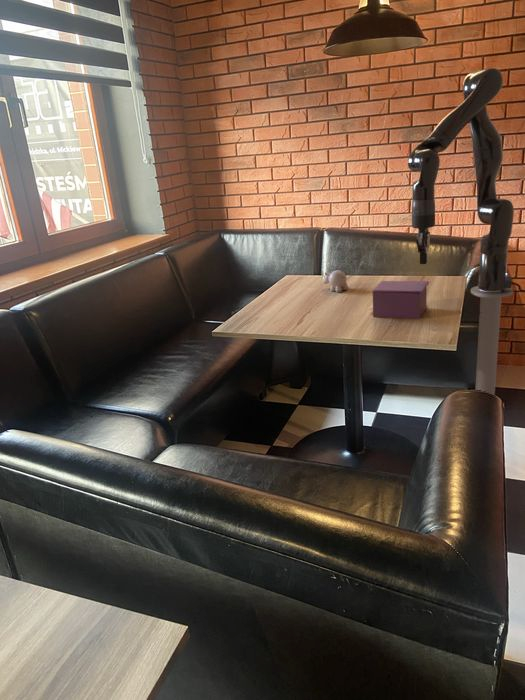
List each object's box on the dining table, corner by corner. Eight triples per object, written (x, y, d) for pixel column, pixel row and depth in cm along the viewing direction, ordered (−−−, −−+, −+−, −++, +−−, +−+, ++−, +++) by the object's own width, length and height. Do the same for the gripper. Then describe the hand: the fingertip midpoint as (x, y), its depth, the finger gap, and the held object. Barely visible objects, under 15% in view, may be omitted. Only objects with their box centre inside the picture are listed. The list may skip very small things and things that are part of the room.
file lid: (429, 282, 185) (429, 281, 185) (422, 292, 174) (422, 290, 174) (382, 282, 192) (382, 281, 192) (372, 291, 182) (372, 290, 182)
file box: (426, 308, 188) (426, 283, 185) (419, 319, 178) (419, 293, 175) (382, 306, 195) (382, 282, 192) (373, 316, 185) (372, 292, 182)
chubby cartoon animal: (330, 286, 229) (329, 266, 226) (350, 289, 220) (349, 269, 217) (318, 289, 225) (316, 270, 222) (338, 293, 216) (337, 273, 213)
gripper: (431, 215, 172) (431, 268, 178) (438, 209, 183) (437, 259, 189) (407, 216, 175) (408, 268, 181) (415, 210, 186) (416, 259, 192)
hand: (423, 263), depth 185 cm, fingers closed
